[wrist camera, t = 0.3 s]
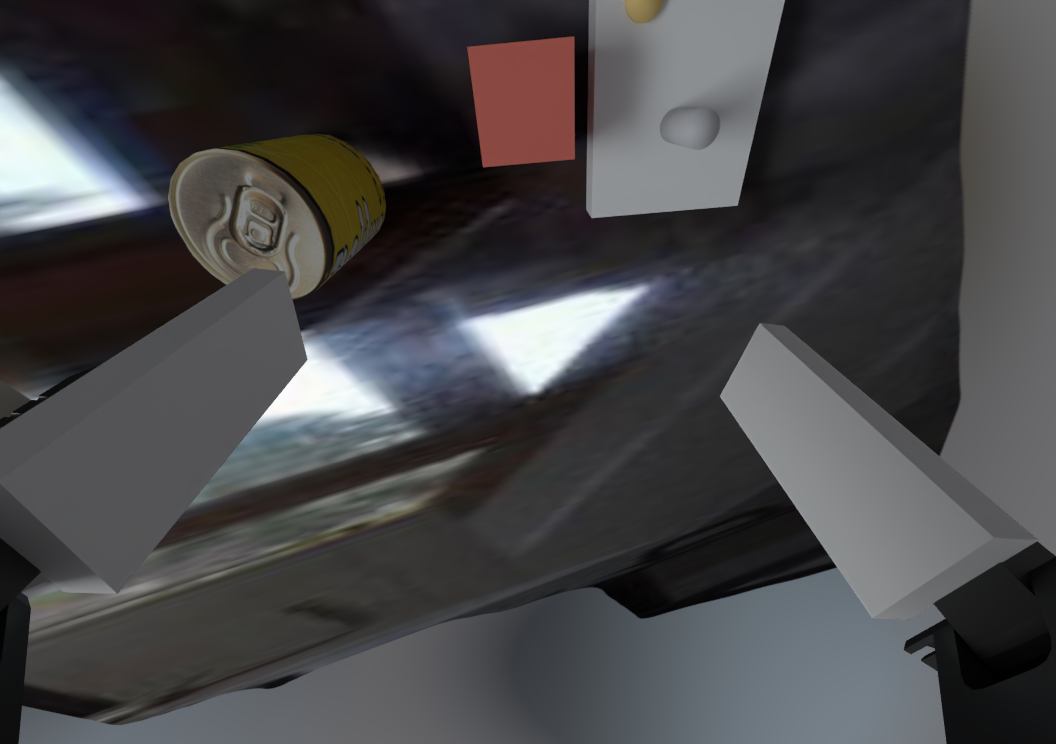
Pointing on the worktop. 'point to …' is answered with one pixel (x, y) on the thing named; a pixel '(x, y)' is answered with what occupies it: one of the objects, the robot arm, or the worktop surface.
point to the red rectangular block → (524, 100)
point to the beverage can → (277, 208)
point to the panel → (674, 101)
